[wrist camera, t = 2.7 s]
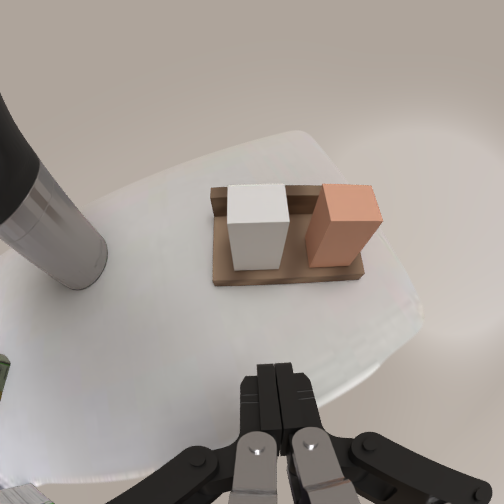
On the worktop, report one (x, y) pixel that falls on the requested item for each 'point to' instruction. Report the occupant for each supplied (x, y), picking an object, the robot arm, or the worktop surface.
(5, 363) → the medication box
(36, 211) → the robot arm
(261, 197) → the grey rectangular block
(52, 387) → the worktop surface
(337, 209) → the orange tall block
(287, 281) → the console
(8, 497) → the syrup box
